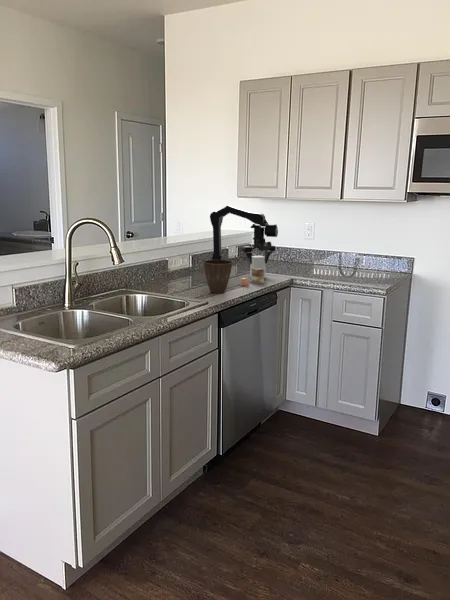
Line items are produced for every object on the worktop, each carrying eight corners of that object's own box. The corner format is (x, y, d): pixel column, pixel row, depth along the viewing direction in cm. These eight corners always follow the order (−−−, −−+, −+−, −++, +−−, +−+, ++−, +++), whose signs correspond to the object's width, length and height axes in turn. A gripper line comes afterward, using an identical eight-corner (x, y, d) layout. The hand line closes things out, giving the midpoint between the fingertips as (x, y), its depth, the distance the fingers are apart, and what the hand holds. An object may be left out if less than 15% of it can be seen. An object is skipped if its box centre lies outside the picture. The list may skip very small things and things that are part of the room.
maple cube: (255, 283, 287) (255, 276, 286) (251, 282, 291) (251, 275, 290) (263, 283, 288) (263, 276, 288) (259, 281, 293) (259, 274, 292)
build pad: (253, 285, 284) (253, 284, 284) (247, 282, 292) (247, 281, 292) (268, 284, 287) (268, 283, 287) (261, 281, 296) (261, 280, 296)
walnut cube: (255, 276, 286) (255, 269, 285) (251, 275, 290) (252, 268, 289) (263, 276, 288) (263, 269, 287) (259, 274, 292) (260, 267, 291)
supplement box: (265, 277, 306) (266, 257, 303) (254, 278, 304) (254, 257, 301) (261, 275, 313) (261, 255, 310) (249, 276, 310) (250, 255, 308)
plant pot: (212, 288, 275) (212, 258, 272) (236, 290, 269) (237, 261, 265) (198, 293, 262) (198, 262, 259) (223, 296, 256) (223, 265, 252)
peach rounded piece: (242, 286, 280) (242, 279, 279) (238, 285, 284) (238, 278, 283) (250, 286, 281) (250, 279, 280) (246, 284, 286) (246, 277, 285)
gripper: (249, 238, 273) (249, 267, 277) (280, 237, 280) (279, 265, 283) (241, 236, 283) (241, 264, 287) (271, 235, 290) (270, 262, 293)
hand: (258, 263), depth 287 cm, fingers open, 9 cm apart
